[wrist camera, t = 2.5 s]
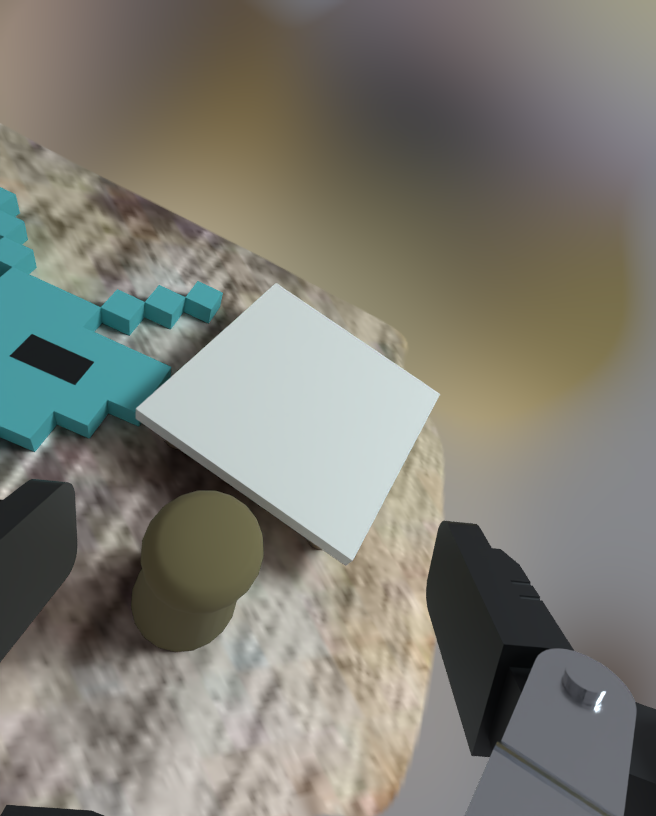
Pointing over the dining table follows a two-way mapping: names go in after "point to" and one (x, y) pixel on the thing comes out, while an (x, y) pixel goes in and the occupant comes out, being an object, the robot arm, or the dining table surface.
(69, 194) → the dining table surface
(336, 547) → the peg shelf
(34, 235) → the dining table surface
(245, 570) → the cork
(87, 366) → the alien figure
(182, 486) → the dining table surface
